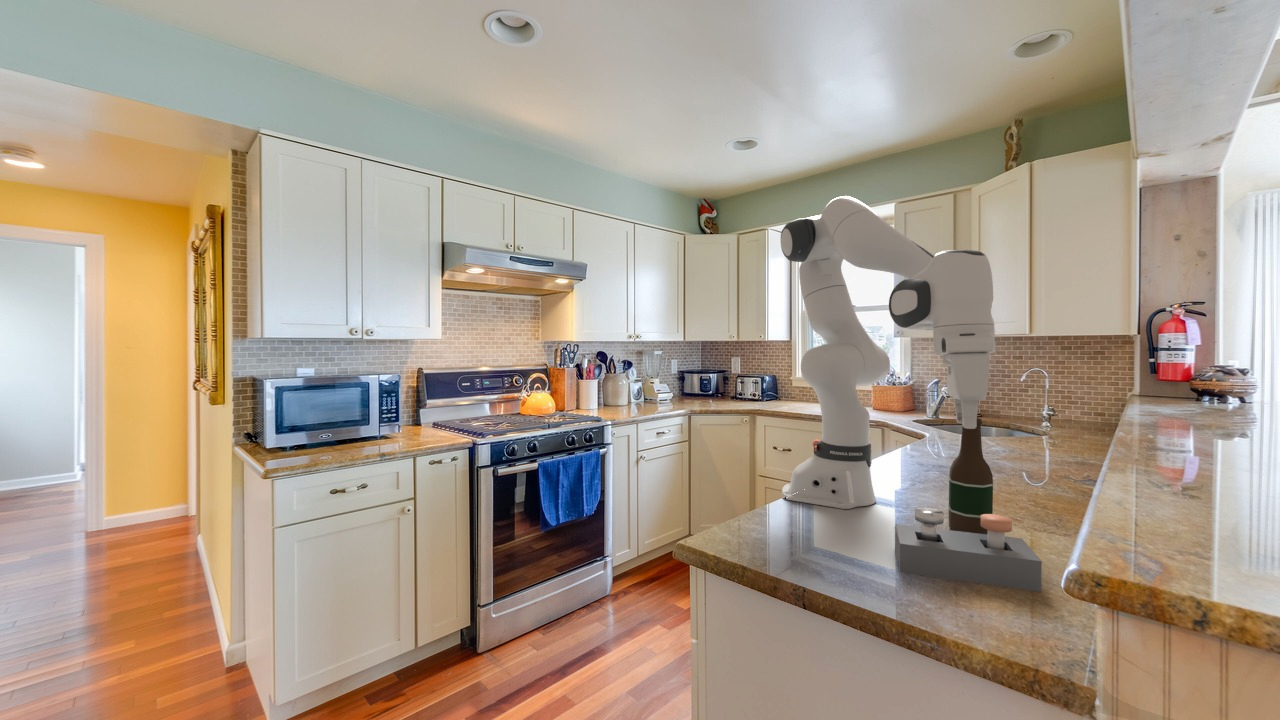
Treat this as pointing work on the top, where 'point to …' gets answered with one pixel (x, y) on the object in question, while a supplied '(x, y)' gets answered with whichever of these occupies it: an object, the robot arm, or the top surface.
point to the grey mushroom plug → (929, 522)
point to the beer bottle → (970, 484)
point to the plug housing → (968, 558)
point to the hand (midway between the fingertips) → (966, 425)
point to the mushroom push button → (996, 529)
